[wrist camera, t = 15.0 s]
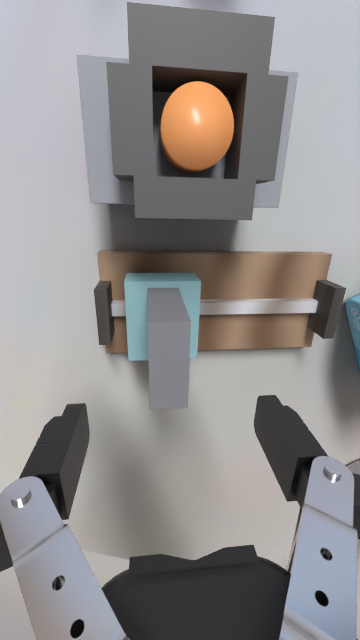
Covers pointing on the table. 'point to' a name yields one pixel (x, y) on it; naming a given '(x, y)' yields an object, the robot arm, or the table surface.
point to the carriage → (163, 331)
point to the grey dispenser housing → (150, 99)
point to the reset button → (196, 127)
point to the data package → (354, 322)
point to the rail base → (231, 296)
